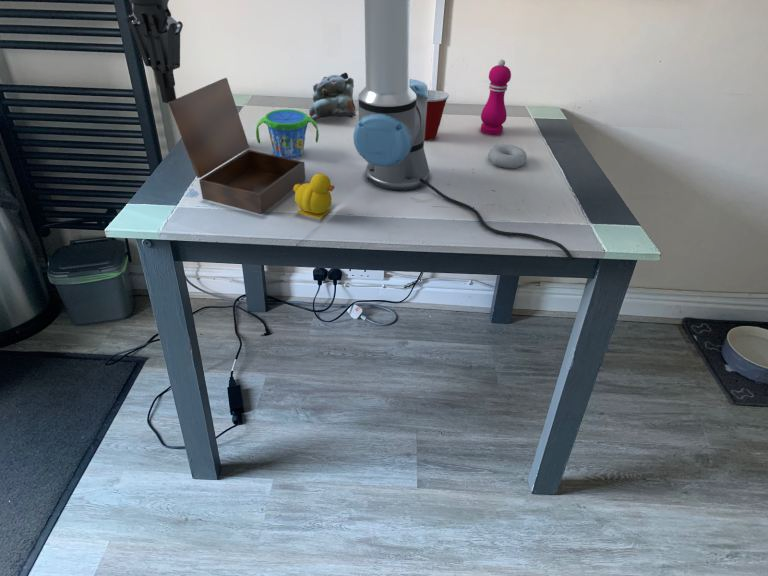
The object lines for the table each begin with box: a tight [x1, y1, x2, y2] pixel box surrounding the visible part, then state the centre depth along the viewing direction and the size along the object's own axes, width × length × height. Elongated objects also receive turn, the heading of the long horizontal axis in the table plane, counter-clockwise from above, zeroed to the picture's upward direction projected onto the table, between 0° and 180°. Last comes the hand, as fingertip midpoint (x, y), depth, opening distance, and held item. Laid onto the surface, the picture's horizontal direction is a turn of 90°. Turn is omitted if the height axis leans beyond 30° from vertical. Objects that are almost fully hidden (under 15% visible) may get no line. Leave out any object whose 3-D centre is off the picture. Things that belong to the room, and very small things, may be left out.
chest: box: [199, 149, 306, 215], centre depth 126 cm, size 15×18×5 cm
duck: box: [292, 173, 336, 222], centre depth 117 cm, size 9×6×10 cm, turn 66°
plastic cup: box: [424, 89, 450, 141], centre depth 153 cm, size 11×11×12 cm
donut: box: [487, 143, 528, 169], centre depth 144 cm, size 10×3×10 cm
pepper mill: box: [480, 59, 512, 136], centre depth 156 cm, size 7×7×20 cm
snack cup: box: [255, 108, 320, 159], centre depth 141 cm, size 16×10×10 cm
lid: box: [167, 77, 250, 179], centre depth 123 cm, size 16×18×5 cm
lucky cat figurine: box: [308, 72, 357, 121], centre depth 164 cm, size 15×12×14 cm
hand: (169, 100), depth 123 cm, fingers closed
